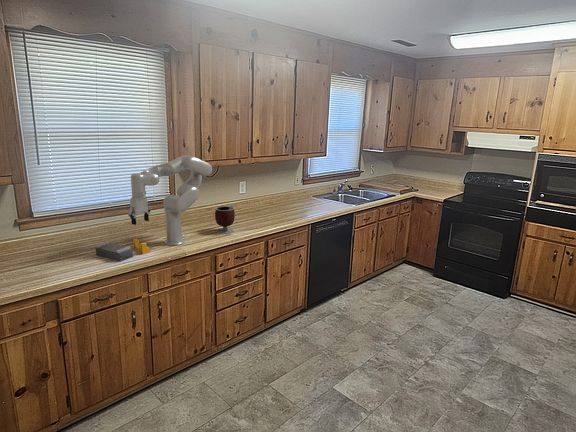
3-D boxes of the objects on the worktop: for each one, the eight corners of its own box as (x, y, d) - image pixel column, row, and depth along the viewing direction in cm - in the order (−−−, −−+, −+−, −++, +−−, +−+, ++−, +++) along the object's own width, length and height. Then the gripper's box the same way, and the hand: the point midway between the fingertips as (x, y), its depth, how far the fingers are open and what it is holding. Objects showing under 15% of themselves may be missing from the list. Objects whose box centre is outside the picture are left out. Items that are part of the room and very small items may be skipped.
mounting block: (109, 250, 237) (108, 241, 235) (133, 256, 228) (132, 246, 227) (96, 255, 229) (95, 245, 228) (120, 261, 221) (119, 251, 219)
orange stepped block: (149, 252, 236) (149, 242, 234) (142, 254, 233) (142, 244, 231) (140, 247, 244) (139, 238, 242) (133, 249, 241) (133, 239, 239)
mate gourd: (219, 235, 272) (218, 207, 267) (212, 229, 284) (212, 203, 279) (239, 232, 279) (239, 205, 274) (232, 227, 291) (232, 201, 286)
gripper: (145, 191, 239) (146, 218, 243) (122, 196, 224) (124, 224, 228) (154, 193, 236) (155, 220, 240) (131, 197, 221) (133, 227, 225)
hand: (140, 222), depth 234 cm, fingers open, 9 cm apart
